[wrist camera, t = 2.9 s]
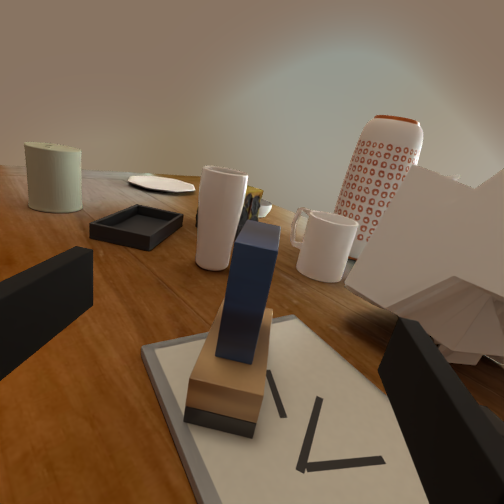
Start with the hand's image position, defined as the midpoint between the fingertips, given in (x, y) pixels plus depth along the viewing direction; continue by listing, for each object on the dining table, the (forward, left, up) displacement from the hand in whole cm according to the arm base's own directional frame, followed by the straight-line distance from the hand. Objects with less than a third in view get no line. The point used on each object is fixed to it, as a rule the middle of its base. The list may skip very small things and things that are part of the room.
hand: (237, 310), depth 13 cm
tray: (+8, +47, -13) cm, 49 cm away
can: (-5, +62, -13) cm, 63 cm away
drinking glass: (+15, +31, -13) cm, 37 cm away
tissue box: (+35, +4, -13) cm, 38 cm away
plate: (+24, +87, -13) cm, 91 cm away
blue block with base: (+6, +8, -12) cm, 16 cm away
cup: (+33, +27, -13) cm, 44 cm away
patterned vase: (+50, +31, -13) cm, 60 cm away
